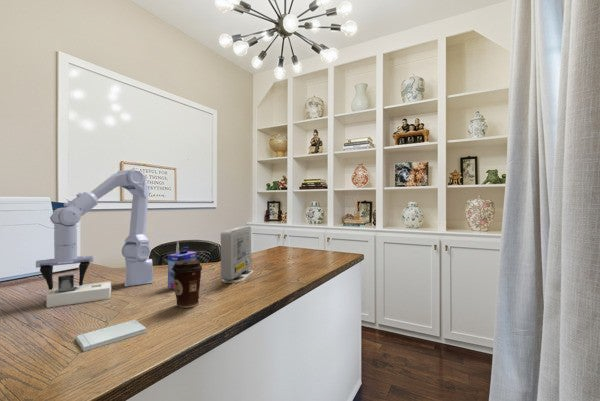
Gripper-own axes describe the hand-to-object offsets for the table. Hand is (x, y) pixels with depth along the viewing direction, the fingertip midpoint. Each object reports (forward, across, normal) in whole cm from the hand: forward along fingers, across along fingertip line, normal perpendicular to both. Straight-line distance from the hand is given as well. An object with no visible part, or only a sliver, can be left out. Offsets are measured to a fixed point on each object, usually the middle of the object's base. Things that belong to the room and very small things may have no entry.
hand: (66, 287), depth 96 cm
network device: (+5, -57, +1) cm, 57 cm away
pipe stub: (+4, 0, 0) cm, 4 cm away
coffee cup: (+5, -33, +26) cm, 42 cm away
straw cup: (+5, -35, +3) cm, 35 cm away
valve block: (+4, -4, 0) cm, 6 cm away
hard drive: (+5, -14, +38) cm, 41 cm away
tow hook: (+5, -41, -36) cm, 55 cm away
